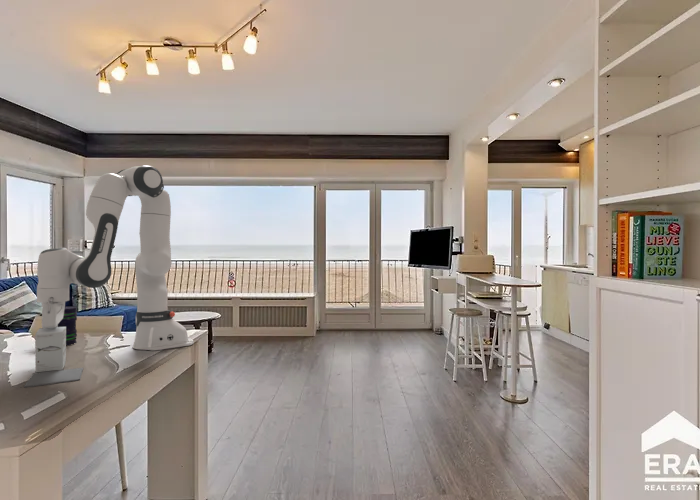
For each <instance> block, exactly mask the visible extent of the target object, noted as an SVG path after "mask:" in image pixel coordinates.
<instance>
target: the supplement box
mask: <svg viewBox="0 0 700 500" xmlns="http://www.w3.org/2000/svg"><path fill="white" fill-rule="evenodd" d="M34 336H35V338H34V339H35V341H34V342H35V351H34V352H35V353H34V354H35V358H34V360H35V367H34V368H35V370H34V371H35V372H34V373H40V372H49V371H57V370H64V368H65V365H66V361H67V360H66V359H67V346H66V327H55V328H42V327H39V328H38V329H37V331H36V333H35V335H34Z"/></svg>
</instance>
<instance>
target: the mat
mask: <svg viewBox="0 0 700 500" xmlns="http://www.w3.org/2000/svg"><path fill="white" fill-rule="evenodd" d="M83 370H84V367H77V368H67V369H63V370H54V371H44V372H37V373H36V372H33V373H32V374H31V376H30V377H29V378H28V380H27V381H26V383H25V385H23V387H24V388H31V387H39V386H47V385H57V384H63V383H70V382H71V381H72V382H78V380H80V381H81V378H82V375H83Z"/></svg>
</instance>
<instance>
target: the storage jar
mask: <svg viewBox="0 0 700 500" xmlns="http://www.w3.org/2000/svg"><path fill="white" fill-rule="evenodd" d="M77 309H78V308H77V306H74V305H73V306H72V305H71V306H69V305H68V306H66V305H65V309H64V316H63V319H62V320H61V321H60V322H59V324H58V327H66V345H68V346H72V345H71V344H73V345H75V344H74V343H76V344H77V337H78V334H77V333H78V331H77V320H78V316H77V315H78V313H77V312H78V311H77Z"/></svg>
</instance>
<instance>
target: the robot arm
mask: <svg viewBox="0 0 700 500" xmlns="http://www.w3.org/2000/svg"><path fill="white" fill-rule="evenodd" d="M133 196H134V197H136V196H137V197H138V198H139V201H140V204H141V206H140V207H141V208H140V220H139V239H140V240H139V243H140V252H139V253H138V255H136V257H135V260H134V265H135V279H136V282H135V283H136V289H137V292H136V294H137V295H136V299H137V301H136V304H137V310H136V312H135V325H136V326H135V327H136V330H135V331H136V332H135V337H134V341H133V343H132V349H136V350H142V351H143V350H148V351H160V350H167V349H174V348H180V347H181V348H182V347H188V346H191V345H192V346H193V345H194V339H192V338H191V337H189V335H188V331H187V329H186V327H185V326H183V325H182V324H181V323H179V322H178V321H177V320H175V319H173V318H174V317H175V316H176V313H175V311H171V310H170V309H168V307H169V306H168V303H169V302H168V301H169V300H168V297H169V296H168V292H169V291H168V286H167V282H166V274H167V273H168V272H169V271H170V270H171V268H172V253H171V252H172V251H171V235H170V234H171V230H170V229H171V216H172V211H171V207H172V206H171V197H170V194H169V192H168V191H167V190H165V186H164V179H163V177H162V174H161V172H160V171H159V169H158V168H156V167H154V166H152V165H140V166H132V167H129V168H125V169H121V170H120V171H118V172H117V173H111V172H109V173H103V174H102V175H100V176H99V178H98V179H97V181H96V183H95V185H94V186H93V188H92V190H91V193H90V195H89V197H88V202H87V204H86V209H85V216H86V218H87V220H88V221H89V222H90V223H91V224H92V226H93V227H94V235H93V240H92V243H91V247H90V250H89V253H88V254H87V256H86V257H84V256H82V255H78V254H77V253H74V252H73V251H70V250H69V249H68V248H66V247H55V248H54V247H53V248H47V249H44V250H42V251H41V252H40V253H39V255H38V261H37V268H36V269H37V270H36V273H37V274H36V276H37V280H38V283H37V286H36V302H37V303H40V304H41V306H40V307H41V308H42V311H41V328H55V327H58V324H59V322H60V321H61V320H62V319H63V316H64V309H65V306H66V302H69V301H70V285H71V284H75V285H79V286H84V287H86V288H87V287H88V288H91V289H95V288H100V287H103V286H104V285H105V284H107V282H109V281H110V279H111V278H112V277H111V276H112V265H111V264H112V263H111V260H112V259H111V258H112V254H113V250H114V246H115V241H116V237H117V233H118V228H119V227H118V226H119V221H120V219H121V214H122V211H123V209H124V206H125V203H126V200H127V198H128V197H133Z"/></svg>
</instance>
